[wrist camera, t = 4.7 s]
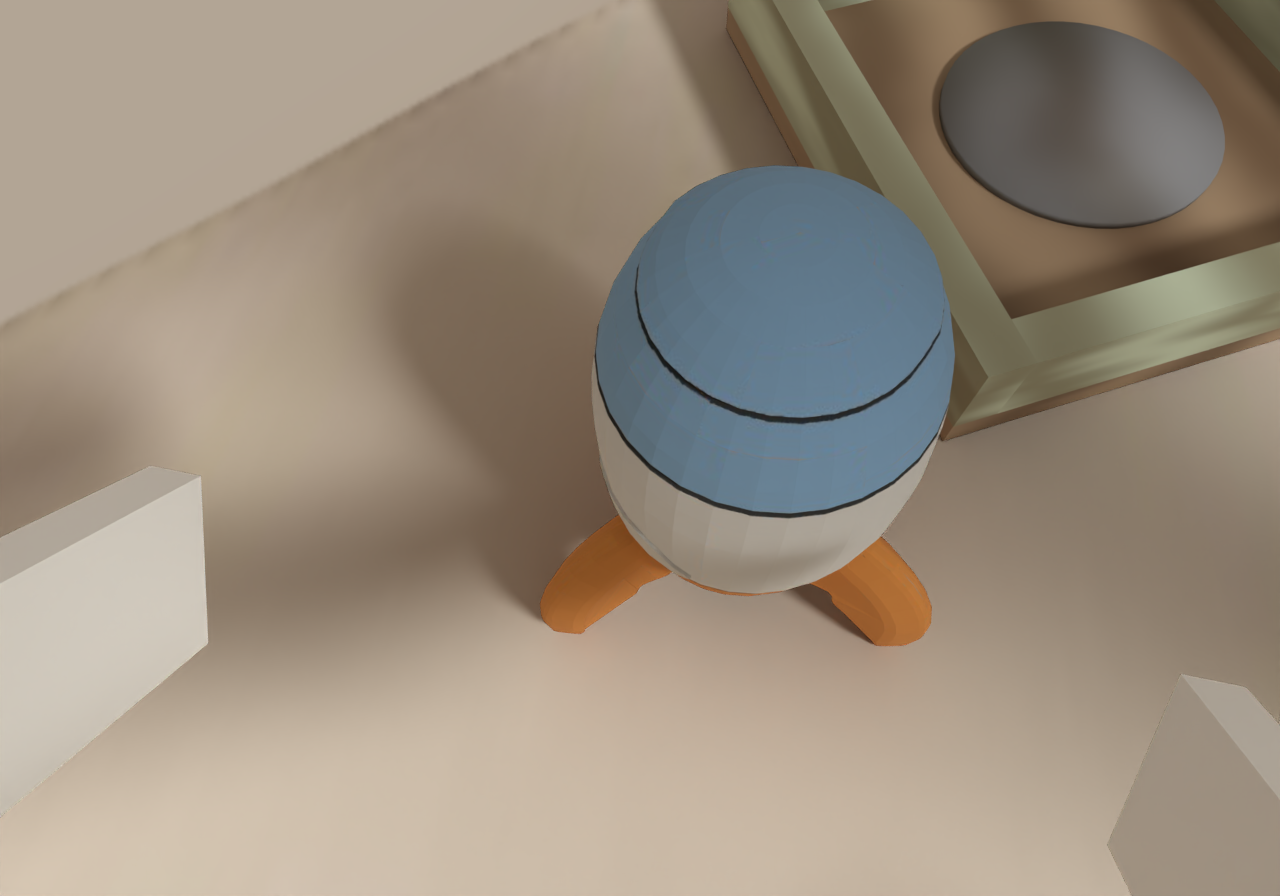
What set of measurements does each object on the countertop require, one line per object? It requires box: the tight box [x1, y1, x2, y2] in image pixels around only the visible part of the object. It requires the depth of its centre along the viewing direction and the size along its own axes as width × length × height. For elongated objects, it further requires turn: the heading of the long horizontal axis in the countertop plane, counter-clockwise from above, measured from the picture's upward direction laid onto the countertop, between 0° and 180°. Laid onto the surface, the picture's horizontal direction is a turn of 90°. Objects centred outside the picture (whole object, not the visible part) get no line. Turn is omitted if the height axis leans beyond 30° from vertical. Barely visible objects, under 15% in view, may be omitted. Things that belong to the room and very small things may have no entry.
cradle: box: [726, 0, 1280, 441], centre depth 30 cm, size 20×20×4 cm
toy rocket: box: [540, 165, 955, 646], centre depth 20 cm, size 10×11×15 cm
